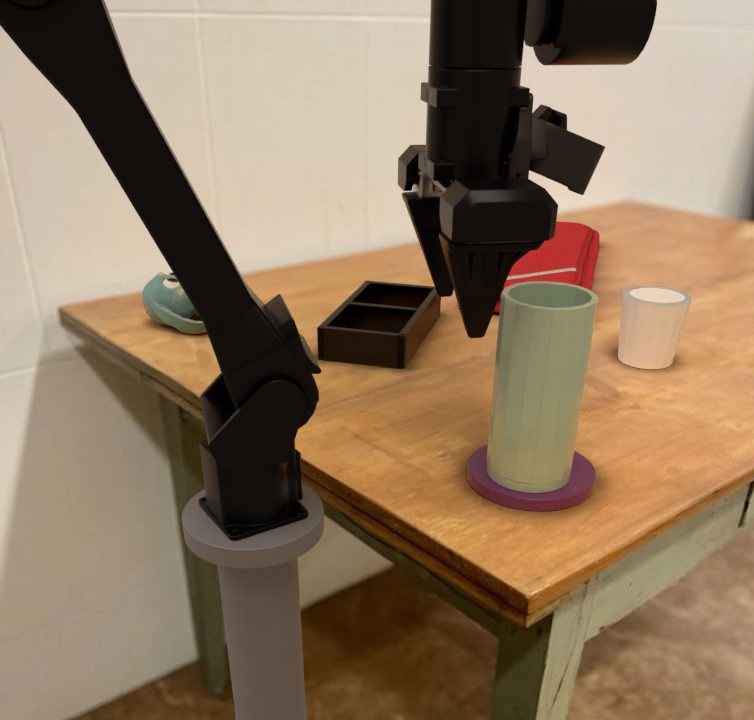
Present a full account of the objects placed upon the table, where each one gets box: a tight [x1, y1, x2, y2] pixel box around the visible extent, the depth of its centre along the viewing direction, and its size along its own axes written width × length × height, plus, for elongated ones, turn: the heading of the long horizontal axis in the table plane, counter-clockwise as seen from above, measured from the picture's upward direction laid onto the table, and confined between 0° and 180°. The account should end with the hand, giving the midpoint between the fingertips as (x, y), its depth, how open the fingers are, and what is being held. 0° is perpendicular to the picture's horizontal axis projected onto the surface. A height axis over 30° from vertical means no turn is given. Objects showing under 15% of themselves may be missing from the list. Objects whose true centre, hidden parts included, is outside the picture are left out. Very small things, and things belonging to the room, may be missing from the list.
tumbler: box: [486, 281, 599, 493], centre depth 60 cm, size 6×6×14 cm
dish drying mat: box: [494, 220, 601, 314], centre depth 114 cm, size 16×41×4 cm, turn 165°
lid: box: [466, 444, 597, 512], centre depth 64 cm, size 10×10×1 cm
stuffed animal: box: [141, 271, 207, 335], centre depth 94 cm, size 11×7×12 cm
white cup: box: [617, 285, 693, 370], centre depth 85 cm, size 7×7×7 cm
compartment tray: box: [316, 280, 442, 370], centre depth 91 cm, size 18×9×4 cm, turn 164°
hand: (459, 315), depth 58 cm, fingers open, 9 cm apart
